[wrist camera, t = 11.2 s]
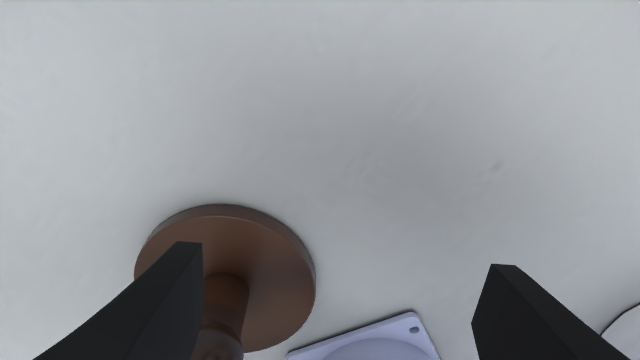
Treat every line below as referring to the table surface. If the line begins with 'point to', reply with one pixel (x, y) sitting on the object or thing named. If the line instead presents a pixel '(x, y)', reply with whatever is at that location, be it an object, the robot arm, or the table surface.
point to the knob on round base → (241, 277)
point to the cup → (626, 334)
